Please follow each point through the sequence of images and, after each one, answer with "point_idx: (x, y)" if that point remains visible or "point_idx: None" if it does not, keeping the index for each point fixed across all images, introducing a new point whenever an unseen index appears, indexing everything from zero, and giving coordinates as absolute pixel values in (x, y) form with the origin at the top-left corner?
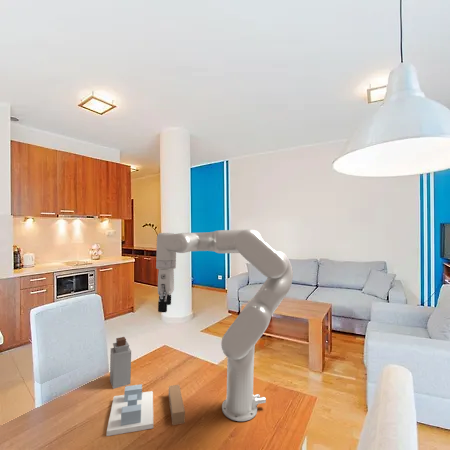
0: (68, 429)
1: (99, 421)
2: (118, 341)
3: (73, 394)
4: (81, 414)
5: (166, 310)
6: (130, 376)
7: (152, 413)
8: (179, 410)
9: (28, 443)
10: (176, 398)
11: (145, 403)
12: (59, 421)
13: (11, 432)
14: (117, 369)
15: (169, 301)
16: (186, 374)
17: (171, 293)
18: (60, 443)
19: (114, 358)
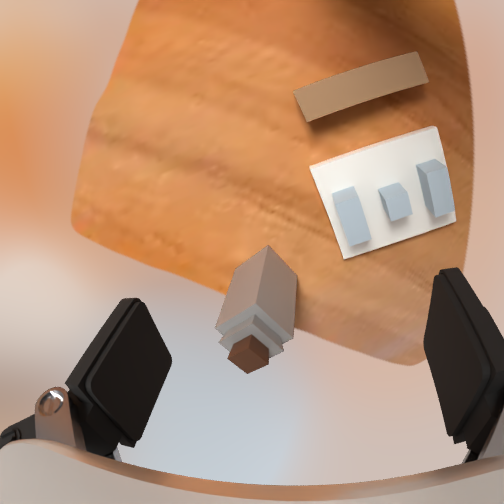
0: (428, 290)
1: (412, 250)
2: (267, 361)
3: (326, 336)
4: (390, 292)
5: (464, 278)
6: (266, 255)
7: (404, 138)
8: (416, 65)
9: None
10: (367, 82)
11: (367, 169)
12: (406, 315)
13: (421, 356)
14: (288, 298)
15: (131, 335)
16: (182, 103)
17: (434, 496)
18: None
19: (292, 328)
